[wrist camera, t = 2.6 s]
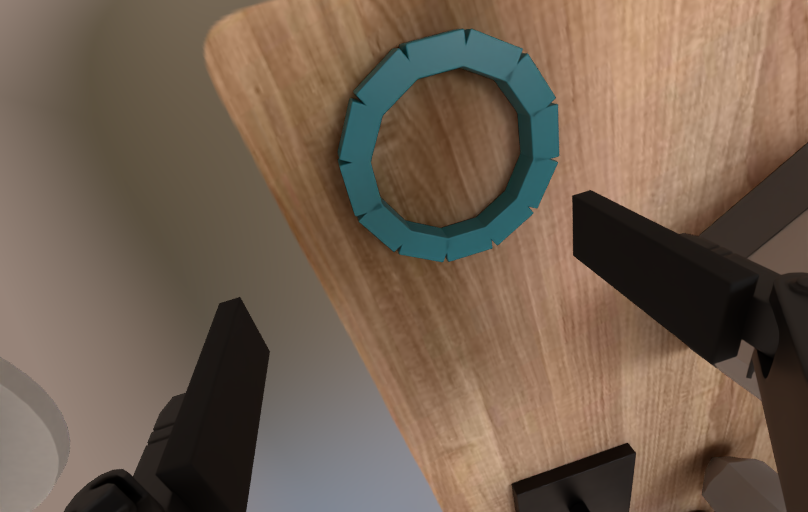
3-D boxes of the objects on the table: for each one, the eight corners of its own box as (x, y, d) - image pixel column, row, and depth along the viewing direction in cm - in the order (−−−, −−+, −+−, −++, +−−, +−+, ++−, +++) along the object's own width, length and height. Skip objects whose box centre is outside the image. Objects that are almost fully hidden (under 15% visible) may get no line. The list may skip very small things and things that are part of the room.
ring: (373, 271, 31) (376, 284, 29) (309, 68, 24) (308, 69, 22) (548, 217, 32) (561, 227, 30) (538, 6, 25) (555, 3, 23)
